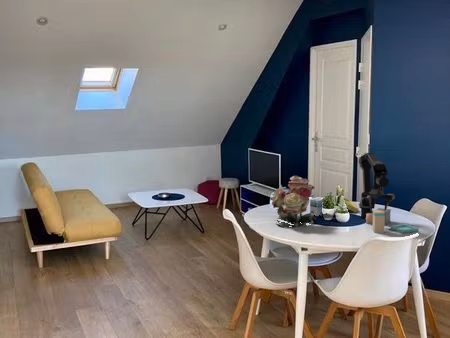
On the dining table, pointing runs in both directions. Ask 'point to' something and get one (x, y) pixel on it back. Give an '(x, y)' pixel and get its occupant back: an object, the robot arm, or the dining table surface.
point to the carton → (378, 221)
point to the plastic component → (350, 205)
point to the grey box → (386, 215)
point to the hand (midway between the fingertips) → (377, 209)
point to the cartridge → (369, 218)
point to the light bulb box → (316, 206)
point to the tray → (404, 228)
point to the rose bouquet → (293, 202)
